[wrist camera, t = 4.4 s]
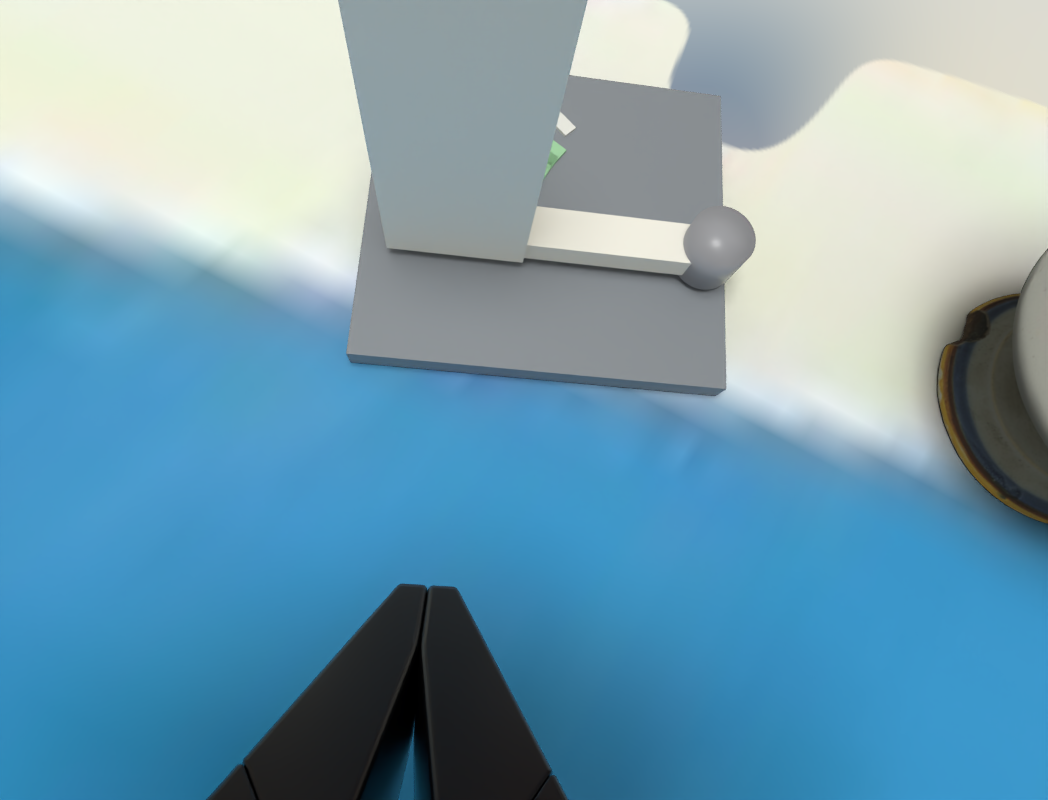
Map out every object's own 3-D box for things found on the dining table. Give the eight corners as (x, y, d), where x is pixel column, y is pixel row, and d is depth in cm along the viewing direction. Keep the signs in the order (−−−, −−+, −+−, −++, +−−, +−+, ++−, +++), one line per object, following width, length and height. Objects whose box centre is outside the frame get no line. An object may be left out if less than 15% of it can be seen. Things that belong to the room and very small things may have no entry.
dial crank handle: (732, 292, 25) (988, 48, 13) (386, 255, 24) (324, -52, 12) (731, 236, 25) (974, -45, 14) (393, 197, 24) (342, -150, 12)
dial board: (715, 395, 25) (727, 388, 24) (350, 362, 24) (345, 352, 23) (711, 111, 28) (722, 93, 27) (390, 68, 27) (388, 48, 26)
